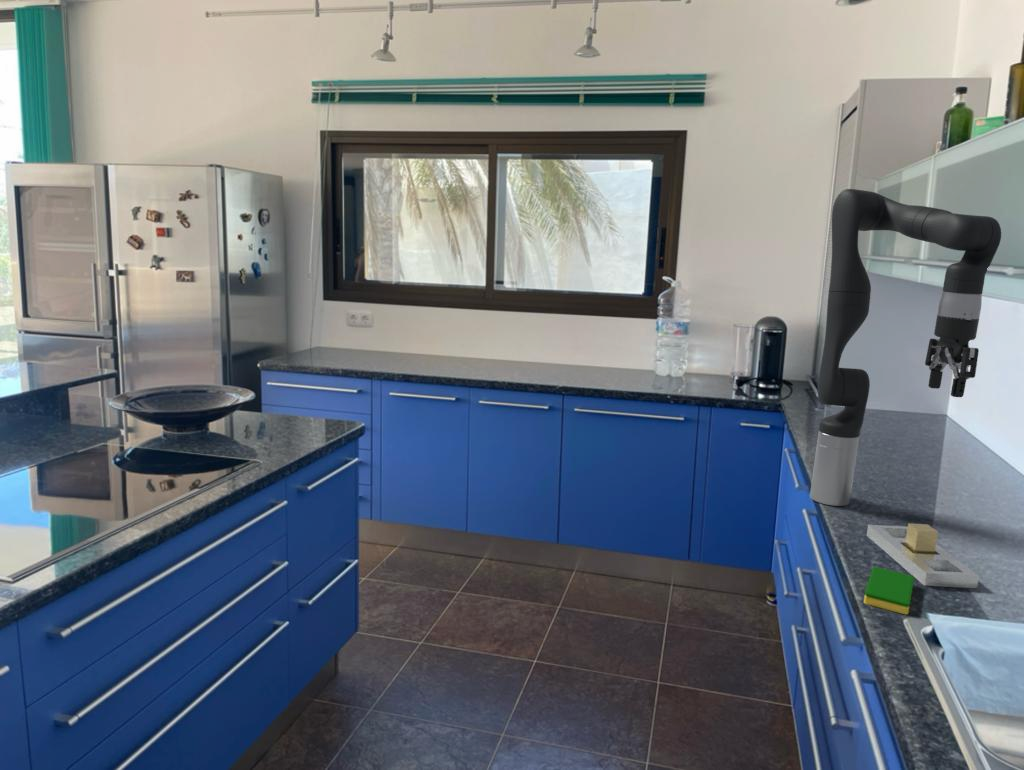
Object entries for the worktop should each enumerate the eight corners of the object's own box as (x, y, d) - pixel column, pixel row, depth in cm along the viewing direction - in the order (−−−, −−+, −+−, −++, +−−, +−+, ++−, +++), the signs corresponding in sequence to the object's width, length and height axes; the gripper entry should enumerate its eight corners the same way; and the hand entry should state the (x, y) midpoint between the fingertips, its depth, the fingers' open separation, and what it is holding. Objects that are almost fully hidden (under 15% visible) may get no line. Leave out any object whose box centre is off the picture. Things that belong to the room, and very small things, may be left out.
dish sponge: (862, 605, 135) (864, 592, 135) (871, 577, 147) (873, 565, 146) (907, 617, 132) (909, 604, 131) (912, 587, 143) (914, 575, 143)
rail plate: (866, 535, 167) (868, 524, 166) (911, 537, 167) (913, 527, 166) (924, 585, 143) (926, 573, 143) (977, 588, 143) (979, 575, 143)
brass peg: (903, 555, 157) (908, 523, 156) (922, 556, 157) (927, 524, 156) (912, 563, 153) (918, 531, 152) (932, 564, 153) (938, 532, 152)
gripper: (921, 310, 163) (909, 384, 166) (960, 318, 149) (946, 398, 152) (956, 312, 163) (944, 386, 166) (998, 320, 149) (983, 400, 152)
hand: (945, 392), depth 159 cm, fingers open, 8 cm apart
